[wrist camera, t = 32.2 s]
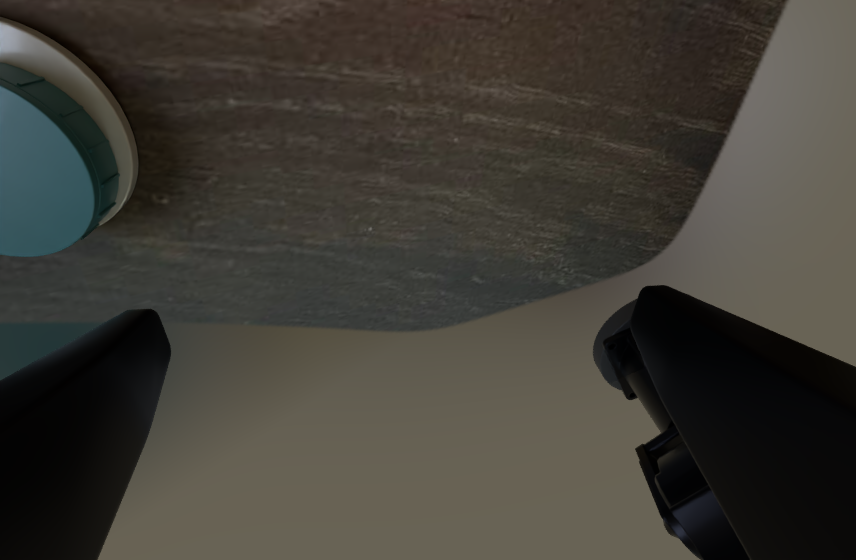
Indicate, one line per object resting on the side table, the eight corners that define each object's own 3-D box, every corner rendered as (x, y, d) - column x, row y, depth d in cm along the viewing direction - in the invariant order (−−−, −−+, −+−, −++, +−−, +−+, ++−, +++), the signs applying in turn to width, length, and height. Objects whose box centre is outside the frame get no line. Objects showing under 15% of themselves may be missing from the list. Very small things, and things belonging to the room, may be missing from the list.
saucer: (184, 170, 18) (179, 175, 18) (44, 261, 20) (35, 268, 19) (-10, -43, 14) (-24, -44, 14) (-170, 93, 16) (-188, 96, 15)
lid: (110, 256, 19) (87, 279, 18) (-83, 200, 17) (-129, 221, 16) (130, 109, 16) (104, 121, 15) (-100, 20, 14) (-160, 23, 13)
